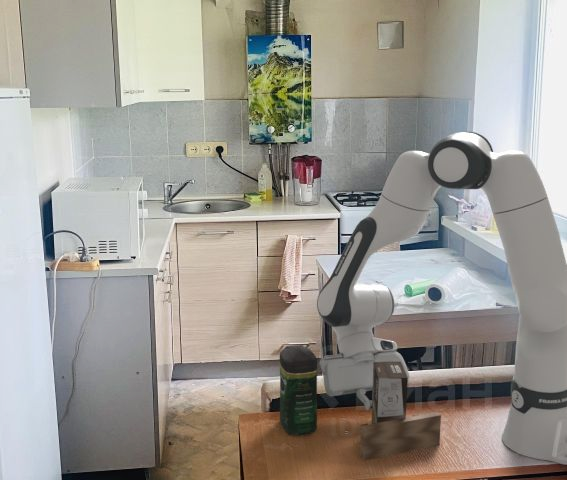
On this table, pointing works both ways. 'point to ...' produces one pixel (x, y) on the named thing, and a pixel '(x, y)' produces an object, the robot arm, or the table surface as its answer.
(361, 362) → the robot arm
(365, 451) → the keeper bracket
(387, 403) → the coffee box
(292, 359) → the coffee jar
